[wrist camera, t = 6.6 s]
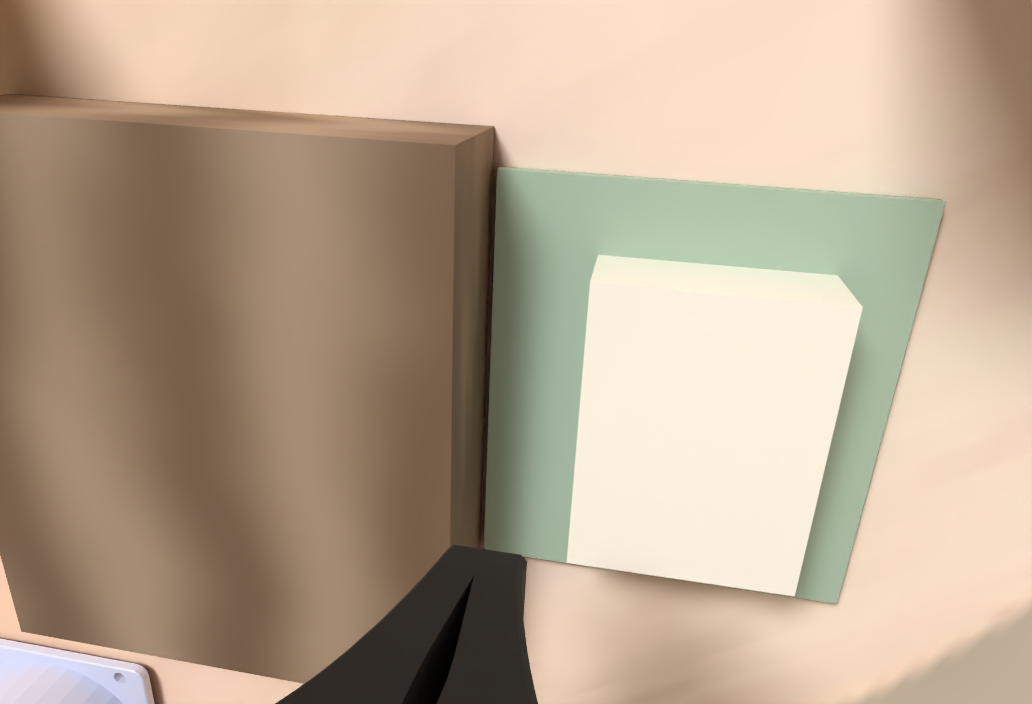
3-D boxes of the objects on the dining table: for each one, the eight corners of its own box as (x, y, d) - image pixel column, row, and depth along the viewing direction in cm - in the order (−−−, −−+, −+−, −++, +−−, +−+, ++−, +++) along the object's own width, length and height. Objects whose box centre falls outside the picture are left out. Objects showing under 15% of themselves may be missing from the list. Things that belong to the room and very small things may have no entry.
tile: (794, 596, 19) (780, 538, 22) (862, 307, 16) (838, 275, 19) (566, 562, 20) (575, 510, 23) (590, 282, 17) (598, 254, 19)
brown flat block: (106, 553, 27) (21, 631, 24) (11, 94, 21) (-124, 103, 17) (478, 614, 25) (447, 710, 22) (493, 126, 19) (455, 145, 15)
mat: (486, 542, 24) (483, 550, 24) (499, 166, 19) (496, 169, 19) (834, 594, 22) (837, 604, 22) (939, 199, 18) (945, 202, 17)
